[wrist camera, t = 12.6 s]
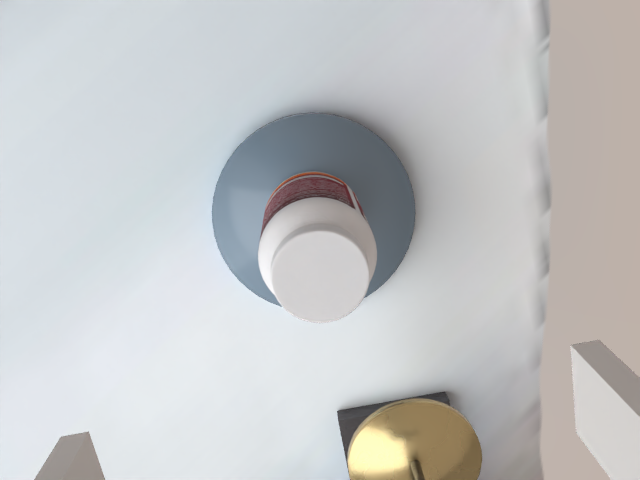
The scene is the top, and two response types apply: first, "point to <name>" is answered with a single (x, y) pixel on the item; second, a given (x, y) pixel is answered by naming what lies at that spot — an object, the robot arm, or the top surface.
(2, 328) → the top surface
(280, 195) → the pill bottle
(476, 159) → the top surface
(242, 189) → the dish
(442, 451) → the balance
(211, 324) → the top surface
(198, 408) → the top surface
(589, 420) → the robot arm
